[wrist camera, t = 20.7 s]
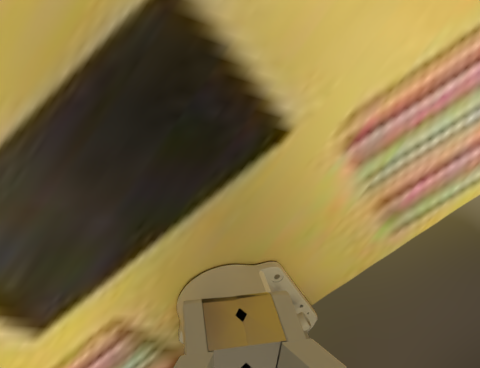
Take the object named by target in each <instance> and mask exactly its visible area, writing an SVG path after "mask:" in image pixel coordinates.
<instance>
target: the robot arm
mask: <svg viewBox="0 0 480 368" xmlns="http://www.w3.org/2000/svg"><path fill="white" fill-rule="evenodd" d="M177 313H178V317H179V320H180V327H179V331H178V336H179V341H180V342H181V343H183V344H184V355H182V356H180V357H179V359H178V361H177V362H176V364H175V366H174V368H347V367H346V366H345V365H344V364H342V363H341V362H340V361H339V360H338V359H336V358H335V357H334V356H333V355H331V354H330V353H329V352H328V351H327V350H325V349H324V348H323V347H322V346H321V345H319V344H318V343H317V342H316V341H314V340H313V339H312V338H311V339H310V337H309V334H308V332H309V331H310V330H311V328H312V327H313V326H314V324H315V323H316V321H317V314H316V312H315V310H314V309H313V308H312V306H311V305H310V304H309V302H308V301H307V300H306V298H305V297H304V296H303V294H302V293H301V292H300V290H299V289H298V288H297V286H296V285H295V284H294V282H293V281H292V280H291V278H290V277H289V276H288V274H287V273H286V272H285V270H284V269H283V268H282V266H281V265H280V264H279V263H278V262H266V263H262V264H258V265H227V266H221V267H217V268H214V269H211V270H209V271H206V272H204V273H202V274H201V275H199V276H197V277H196V278H194V279H193V280H192V281H191V282H190V283H188V284H187V286H186V287H185V288H184V289H183V291H182V292H181V294H180V296H179V298H178V301H177Z"/></svg>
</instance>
